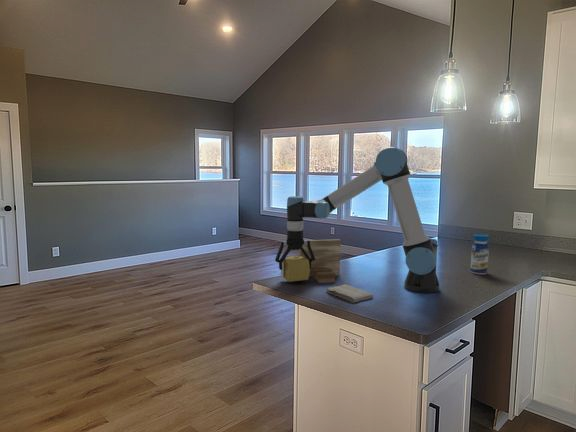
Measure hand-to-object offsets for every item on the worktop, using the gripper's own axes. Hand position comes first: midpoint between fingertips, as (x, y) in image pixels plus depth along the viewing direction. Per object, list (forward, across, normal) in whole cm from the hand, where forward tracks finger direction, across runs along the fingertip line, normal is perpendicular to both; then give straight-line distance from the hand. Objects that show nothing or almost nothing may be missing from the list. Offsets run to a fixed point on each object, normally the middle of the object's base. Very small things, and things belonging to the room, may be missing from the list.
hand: (295, 275), depth 196 cm
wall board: (+3, -15, -6) cm, 16 cm away
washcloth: (+4, -19, +23) cm, 30 cm away
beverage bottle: (+5, -99, -4) cm, 99 cm away
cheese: (+1, 0, 0) cm, 1 cm away
